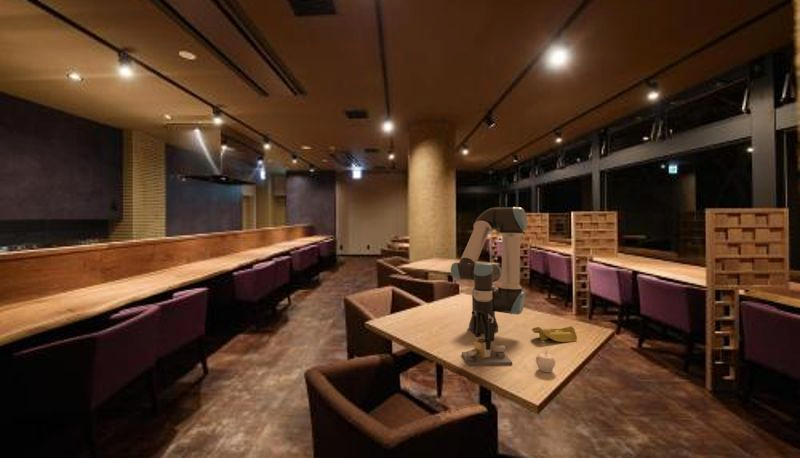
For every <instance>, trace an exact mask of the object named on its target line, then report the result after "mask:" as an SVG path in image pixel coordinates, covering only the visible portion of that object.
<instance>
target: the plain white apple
mask: <svg viewBox="0 0 800 458" xmlns="http://www.w3.org/2000/svg"><path fill="white" fill-rule="evenodd" d="M535 363H536V365H537V368H538V370H539V371H540V372H543V373H551V372H552V371H553V369H554V367H555V366H556V359H555V357H554V356H553V355H551V354H549V353H548V349H547V350H546V351H545V353H544V352H542V353H538V354H537V355H536V357H535Z"/></svg>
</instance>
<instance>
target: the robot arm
mask: <svg viewBox="0 0 800 458" xmlns="http://www.w3.org/2000/svg"><path fill="white" fill-rule="evenodd" d="M527 229H528V218H527V214H526V211H525V209H524V208H523V207H520V206H519V207H518V206H510V207H509V206H507V207H490V208H488V209H487V210H484V211H483V212H481V214H479V216H478V217H477V218H476V219H475V222H474V223H473V230H472V232H471V234H470V237H469V240H468V242H467V245H466V246H465V248H464V251H463V254H462V255H461V258H460V260H459V262H458V261H457V262H454V263H452V264H451V266H450V274H451V275H450V276H451V277H452V278H453V279H457V280H460V281H461V280H464V281H466V280H467V281H474V282H473V289H472V293H471V294H472V295H471V297H472V298H471V300H472V303H471V304H472V305H471V306H472V307H471V310H472V311H471V317H470V321H469V322H468V323H469V324H468V329H469V331H471V332H472V334H473V335H474V337H475V340H479V339H483V337H484V339H485V341H484V357H490V349H491V346H492V345H491V342H494V341H495V333H498V331H499V325H498V322H497V318H496V313H502V314H510V315H521V314H522V312H523V310H524V309H525V305H526V298H527V297H526V295H527V294H526V292H525V291H523V287H522V286H521V284H520V257H521V256H520V255H521V254H520V253H521V250H520V249H521V237H522V235H524V231H527ZM494 230H495V231H496V230H497V231H499V234H500V236H502V241H501V242H502V245H501V246H502V249H501V267H500V266H499V265H498V264H495V263H491V262H483V261H481V262H478V260H479V257H480V255H481V253H482V251H483V247H484V245H485V243H486V241H487V238H488V235H490V234H491V233H492V231H494ZM499 279H501V281H500V282H501V283H500V284H499V285H498V286H497V287H498V288H496V286H495V285H494V284H493V283H494V282H497V281H499Z"/></svg>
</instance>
